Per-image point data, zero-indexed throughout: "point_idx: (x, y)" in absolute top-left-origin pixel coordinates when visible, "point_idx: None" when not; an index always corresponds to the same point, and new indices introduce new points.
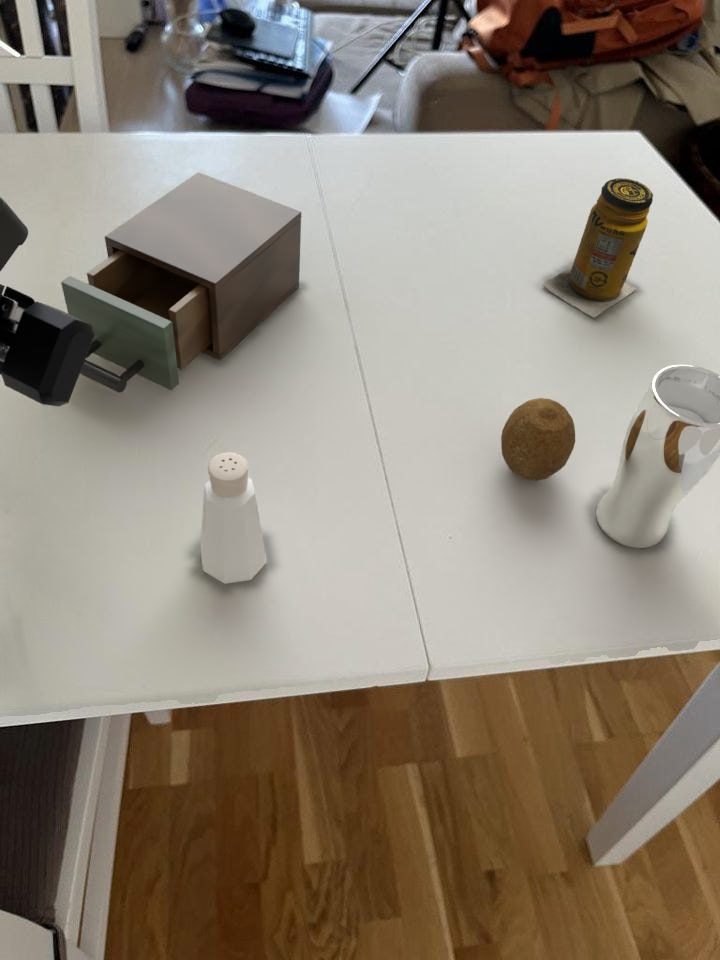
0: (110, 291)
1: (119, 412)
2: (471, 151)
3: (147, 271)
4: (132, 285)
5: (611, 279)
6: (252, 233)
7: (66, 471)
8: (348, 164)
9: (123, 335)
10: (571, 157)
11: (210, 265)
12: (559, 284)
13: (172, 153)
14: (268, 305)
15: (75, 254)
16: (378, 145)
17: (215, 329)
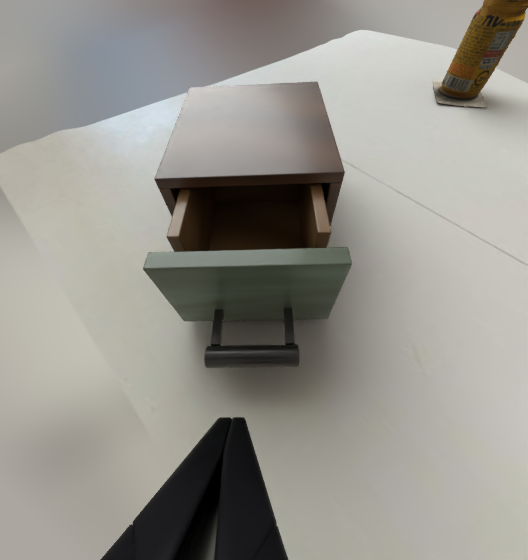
0: (195, 244)
1: (294, 376)
2: (303, 59)
3: (206, 204)
4: (204, 226)
5: (489, 75)
6: (305, 111)
7: (320, 527)
8: None
9: (263, 293)
10: (352, 45)
11: (311, 155)
12: (443, 98)
13: (127, 122)
14: None
15: (108, 224)
16: (251, 73)
17: None
